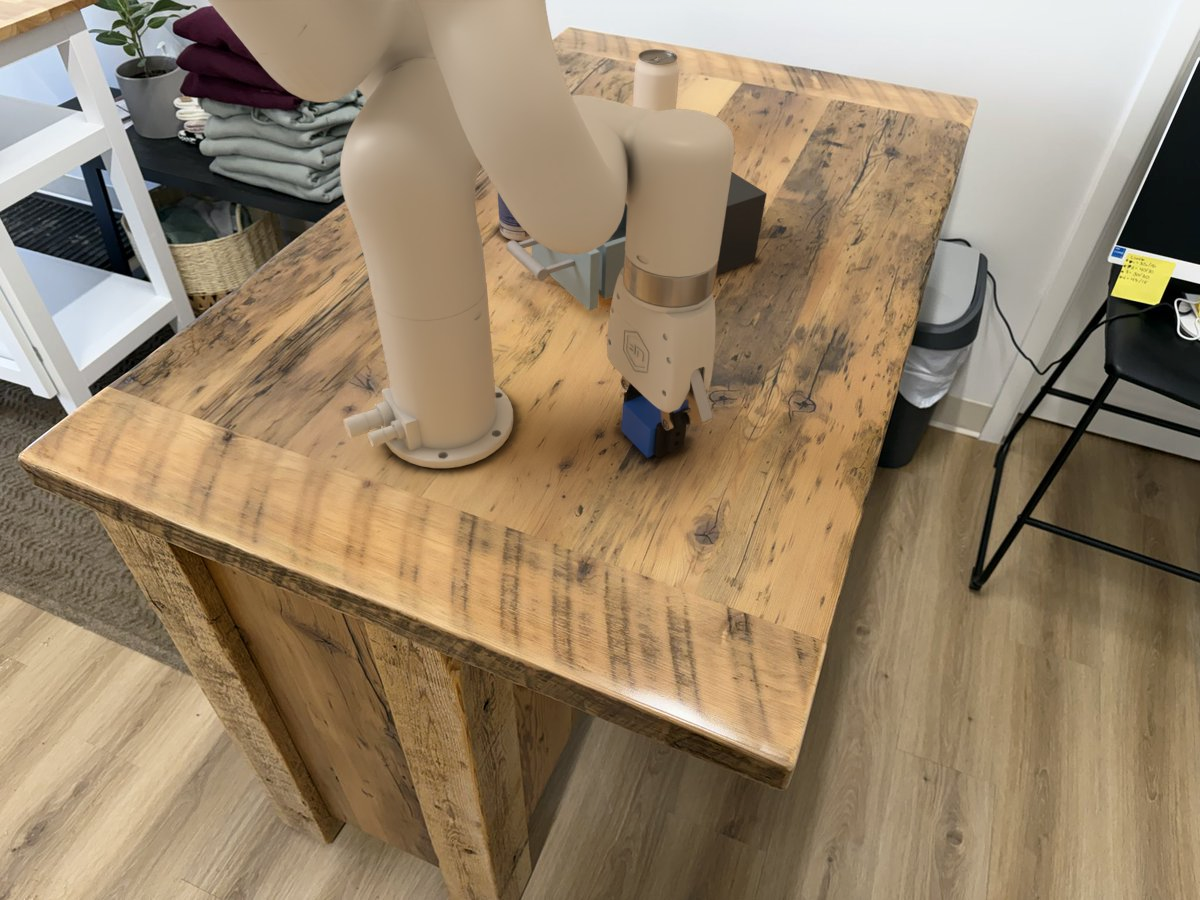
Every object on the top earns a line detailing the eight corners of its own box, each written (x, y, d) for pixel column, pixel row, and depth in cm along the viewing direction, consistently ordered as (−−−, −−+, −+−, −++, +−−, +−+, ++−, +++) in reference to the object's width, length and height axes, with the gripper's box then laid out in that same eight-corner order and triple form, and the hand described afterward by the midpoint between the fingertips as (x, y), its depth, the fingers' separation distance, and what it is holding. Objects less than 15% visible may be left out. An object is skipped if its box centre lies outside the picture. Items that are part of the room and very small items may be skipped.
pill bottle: (536, 244, 106) (533, 171, 99) (494, 239, 106) (489, 166, 99) (546, 223, 109) (545, 151, 103) (506, 218, 110) (502, 146, 103)
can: (680, 135, 129) (688, 54, 121) (660, 150, 125) (666, 68, 117) (644, 125, 132) (649, 44, 123) (623, 139, 128) (627, 57, 119)
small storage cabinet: (660, 296, 98) (666, 226, 92) (594, 241, 106) (595, 174, 100) (754, 261, 104) (766, 193, 98) (685, 212, 112) (692, 146, 106)
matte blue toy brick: (647, 458, 79) (650, 430, 76) (620, 430, 81) (622, 403, 79) (684, 441, 81) (688, 413, 78) (657, 415, 83) (660, 387, 81)
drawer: (552, 325, 92) (551, 267, 87) (495, 270, 100) (491, 214, 94) (685, 277, 100) (691, 221, 94) (623, 229, 107) (626, 175, 102)
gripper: (575, 237, 72) (573, 399, 84) (697, 340, 62) (674, 505, 75) (646, 215, 75) (634, 374, 87) (773, 310, 65) (738, 473, 78)
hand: (652, 433), depth 81 cm, fingers closed on matte blue toy brick, 4 cm apart
